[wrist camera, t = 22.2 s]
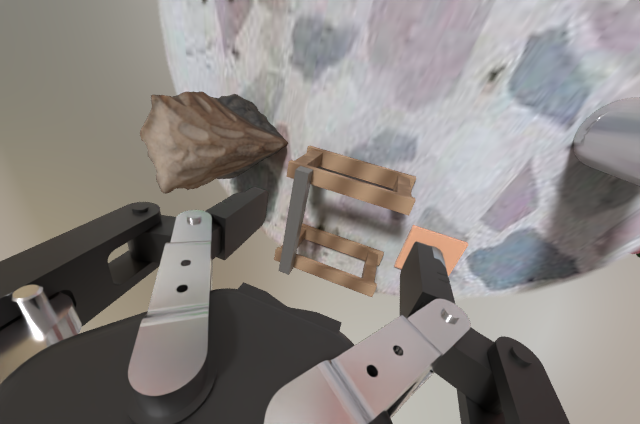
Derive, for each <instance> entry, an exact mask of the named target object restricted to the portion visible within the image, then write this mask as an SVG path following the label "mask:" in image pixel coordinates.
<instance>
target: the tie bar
mask: <svg viewBox="0 0 640 424" xmlns="http://www.w3.org/2000/svg"><path fill="white" fill-rule="evenodd" d="M312 173H313V169H309V168H306V167H303V166H300V167H298V168H297V169H296V170H295V176H294V182H293V188H292V194H291V200H290V206H289V212H288V218H287V224H286V230H285V236H284V242H283V248H282V254H281V260H280V267H279V271H280V272H283V273H286V274H288V275H289V274H290V272H291V271H292V269H293V266H294V261H295V257H296V252H297V247H298V242H299V237H300V232H301V227H302V222H303V217H304V212H305V208H306V203H307V198H308V193H309V188H310V183H311V178H312Z"/></svg>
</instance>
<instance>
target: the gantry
mask: <svg viewBox="0 0 640 424" xmlns="http://www.w3.org/2000/svg"><path fill="white" fill-rule="evenodd" d="M300 166H303V167H306V168H309V169H313V173H312V178H311V183H310V184H312V185H315V186H318V187H321V188H324V189H327V190H331V191H334V192H337V193H340V194H343V195H346V196H349V197H352V198H356V199H359V200H362V201H365V202H368V203H371V204H374V205H377V206H381V207H384V208H387V209H390V210H393V211H396V212H399V213H403V214H406V215H409V214H410V212H411V210H412V207H413V205H414V203H415V198H413V197H412V196H411V190H412V187H413V185H414V183H415V180H416V177H415V176H412V175H408V174H405V173H402V172H398V171H395V170H391V169H388V168H384V167H381V166H378V165H374V164H371V163H367V162H364V161H361V160H357V159H354V158H350V157H347V156H343V155H340V154H337V153H333V152H330V151H326V150H323V149H319V148H316V147H313V146H308V148H307V153H306V154H305V155H303V156H302V157H300V158H298V159H297V160H295V161H293V160H291V161H289V164H288V170H287V177H290V178H293V179H294V176H295V170H296V169H297V168H298V167H300ZM318 166H319V167H323V168H326V169H329V170H333V171H336V172H339V173H342V174H346V175H349V176H352V177H355V178H359V179H362V180H365V181H369V182H372V183H375V184H378V185H382V186H385V187H388V188H392V189H393V191H391V190H387V189H384V188H381V187H377V186H374V185H371V184H368V183H364V182H361V181H358V180H355V179H351V178H348V177H345V176H342V175H338V174H335V173H332V172H329V171H325V170H322V169H319V168H317V167H318ZM303 239H306V240H309V241H312V242H315V243H317V244H320V245H323V246H326V247H328V248H331V249H334V250H337V251H340V252H342V253H345V254H348V255H351V256H353V257H356V258H359V259H362V260H364V261H365V264H364V268H363V273H362V278H360V277H357V276H355V275H352V274H349V273H347V272H344V271H341V270H339V269H336V268H333V267H331V266H328V265H325V264H323V263H320V262H317V261H314V260H312V259H309V258H306V257H304V256H301V255H298V254H296V257H295V261H294V266H293V267H294V268H297V269H300V270H302V271H305V272H307V273H310V274H313V275H315V276H318V277H320V278H323V279H326V280H329V281H331V282H333V283H336V284H339V285H341V286H344V287H346V288H349V289H352V290H354V291H357V292H360V293H362V294H365V295H368V296H370V297H372V296H373V294H374V292H375V290H376V286H377V284H376V283H374V280H375V273H376V266H377V265H378V266H379V264H380V262H381V259H382V257H383V254H384V252H382V251H380V250H377V249H374V248H371V247H368V246H365V245H362V244H360V243H357V242H354V241H351V240H348V239H345V238H342V237H340V236H337V235H334V234H331V233H328V232H325V231H322V230H320V229H317V228H314V227H311V226H308V225H305V224H302V227H301V232H300V237H299V242H298V246H299V245H300V243H301V242H302V240H303ZM282 248H283V245H282V246H281V248H280V247H278V248H277V249H276V251H275V257H274V260H276V261H279V262H280V260H281V254H282ZM297 248H298V247H297Z"/></svg>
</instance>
